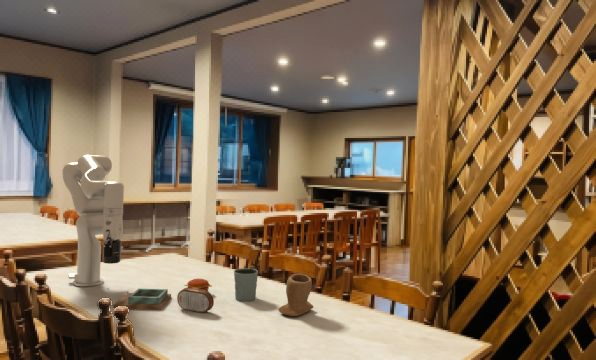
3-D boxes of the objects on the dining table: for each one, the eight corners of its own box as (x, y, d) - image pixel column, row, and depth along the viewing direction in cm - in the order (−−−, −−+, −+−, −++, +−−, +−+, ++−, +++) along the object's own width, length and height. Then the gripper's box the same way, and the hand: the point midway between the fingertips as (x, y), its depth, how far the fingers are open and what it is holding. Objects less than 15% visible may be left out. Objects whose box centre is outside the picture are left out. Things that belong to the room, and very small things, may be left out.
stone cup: (299, 321, 159) (300, 281, 159) (274, 314, 166) (275, 275, 165) (321, 311, 171) (322, 274, 171) (297, 305, 178) (298, 269, 178)
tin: (213, 312, 165) (214, 290, 165) (209, 315, 162) (210, 292, 162) (180, 307, 170) (181, 285, 170) (175, 309, 167) (176, 287, 167)
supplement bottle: (113, 264, 175) (114, 235, 174) (99, 263, 176) (99, 233, 176) (124, 261, 181) (124, 232, 181) (109, 259, 183) (110, 231, 182)
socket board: (112, 308, 164) (113, 298, 164) (127, 296, 180) (127, 286, 180) (160, 309, 165) (160, 299, 165) (171, 297, 181) (171, 288, 181)
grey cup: (261, 297, 186) (262, 270, 186) (249, 304, 177) (250, 274, 177) (241, 294, 190) (242, 267, 190) (228, 299, 181) (229, 271, 181)
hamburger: (196, 298, 181) (196, 283, 181) (182, 294, 187) (182, 278, 187) (213, 294, 188) (214, 279, 188) (200, 290, 194) (200, 275, 194)
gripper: (114, 214, 170) (112, 259, 170) (129, 210, 187) (128, 251, 187) (94, 213, 169) (93, 258, 170) (112, 209, 187) (111, 250, 187)
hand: (111, 254), depth 179 cm, fingers closed on supplement bottle, 6 cm apart
